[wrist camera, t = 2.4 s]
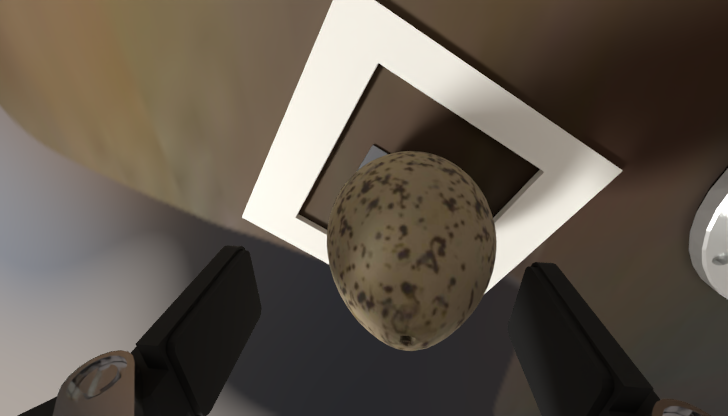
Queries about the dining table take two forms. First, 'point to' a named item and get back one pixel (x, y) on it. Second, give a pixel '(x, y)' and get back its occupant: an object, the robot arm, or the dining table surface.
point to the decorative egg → (411, 248)
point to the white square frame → (326, 122)
